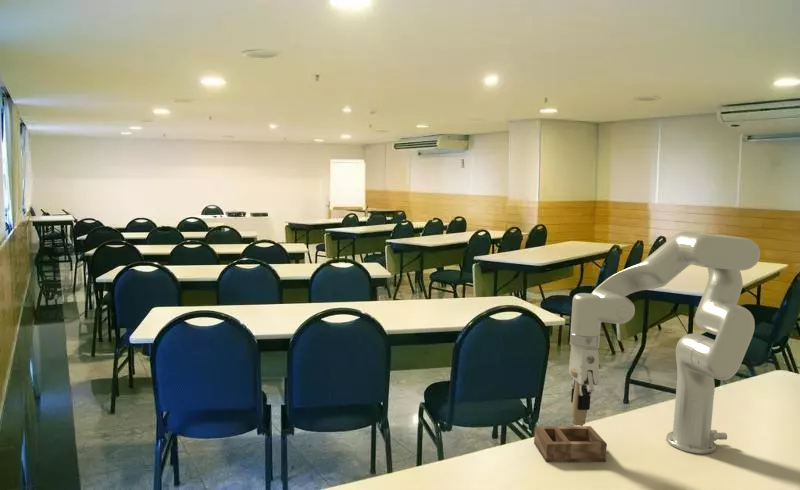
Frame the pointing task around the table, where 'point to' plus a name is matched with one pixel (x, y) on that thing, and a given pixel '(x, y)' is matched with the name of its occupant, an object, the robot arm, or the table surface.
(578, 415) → the handle
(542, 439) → the socket block
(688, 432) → the robot arm
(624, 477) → the table surface
